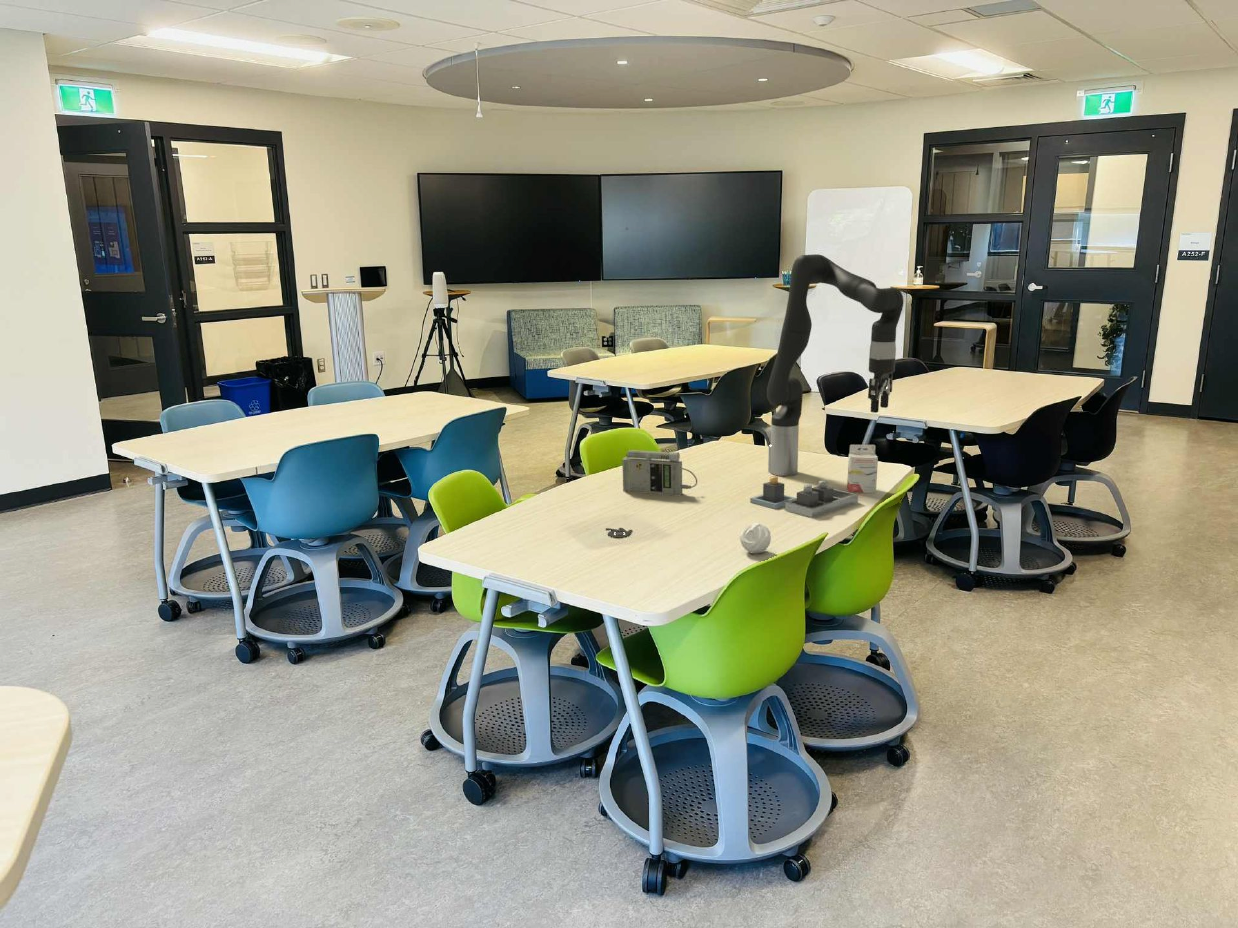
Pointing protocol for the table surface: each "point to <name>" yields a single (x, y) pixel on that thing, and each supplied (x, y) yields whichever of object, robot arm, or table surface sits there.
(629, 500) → the table surface
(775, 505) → the tray
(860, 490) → the ink cartridge box
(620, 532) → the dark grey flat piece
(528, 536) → the table surface
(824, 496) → the twin plug
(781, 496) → the plug
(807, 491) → the twin plug
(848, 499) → the strip
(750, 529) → the crumpled white ball
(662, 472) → the geiger counter
